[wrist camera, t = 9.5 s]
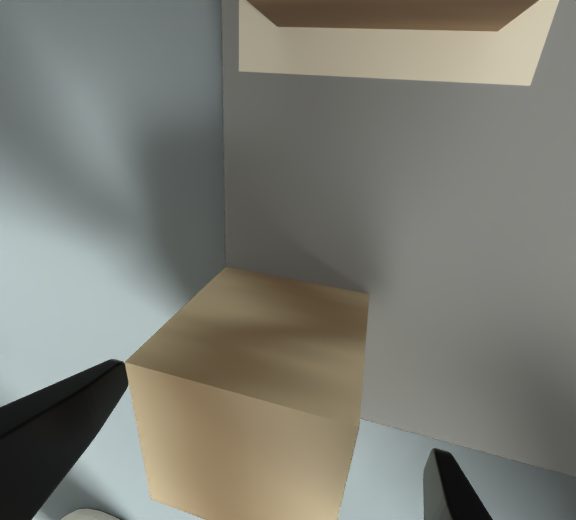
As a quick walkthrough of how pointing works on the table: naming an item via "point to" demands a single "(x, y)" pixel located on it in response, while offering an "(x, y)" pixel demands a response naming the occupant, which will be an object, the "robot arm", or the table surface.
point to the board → (421, 210)
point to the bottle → (88, 515)
